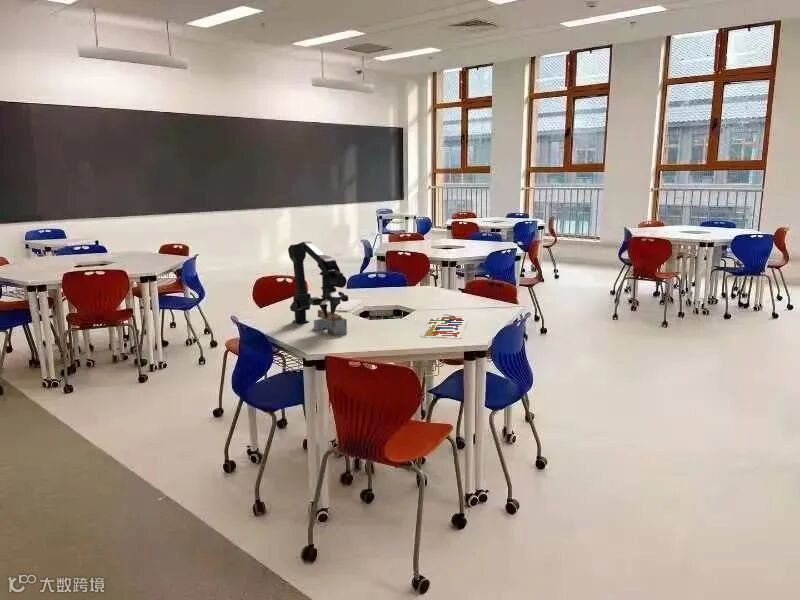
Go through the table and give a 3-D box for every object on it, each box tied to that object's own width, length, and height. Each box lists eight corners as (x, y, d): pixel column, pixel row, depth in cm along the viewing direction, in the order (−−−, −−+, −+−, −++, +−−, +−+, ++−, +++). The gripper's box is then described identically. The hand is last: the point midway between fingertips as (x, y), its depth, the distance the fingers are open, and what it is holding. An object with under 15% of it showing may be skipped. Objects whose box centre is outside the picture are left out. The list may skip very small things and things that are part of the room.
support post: (314, 328, 292) (313, 320, 291) (328, 325, 297) (328, 317, 296) (317, 329, 289) (317, 321, 288) (332, 327, 293) (332, 319, 293)
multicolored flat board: (433, 312, 318) (469, 314, 314) (433, 316, 319) (469, 318, 315) (419, 332, 275) (461, 335, 271) (419, 338, 276) (460, 340, 272)
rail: (317, 316, 293) (317, 309, 292) (323, 316, 295) (323, 309, 294) (335, 324, 278) (335, 316, 278) (341, 323, 280) (341, 315, 279)
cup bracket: (327, 333, 282) (327, 318, 281) (340, 331, 286) (340, 317, 284) (333, 336, 277) (333, 321, 276) (346, 333, 281) (346, 319, 280)
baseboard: (365, 302, 357) (346, 301, 359) (365, 297, 356) (346, 296, 359) (351, 313, 327) (330, 312, 329) (351, 308, 327) (330, 307, 329)
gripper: (318, 289, 271) (319, 323, 275) (354, 285, 282) (354, 317, 285) (307, 286, 280) (308, 318, 283) (342, 282, 291) (342, 313, 294)
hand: (329, 317), depth 286 cm, fingers closed on rail, 3 cm apart
